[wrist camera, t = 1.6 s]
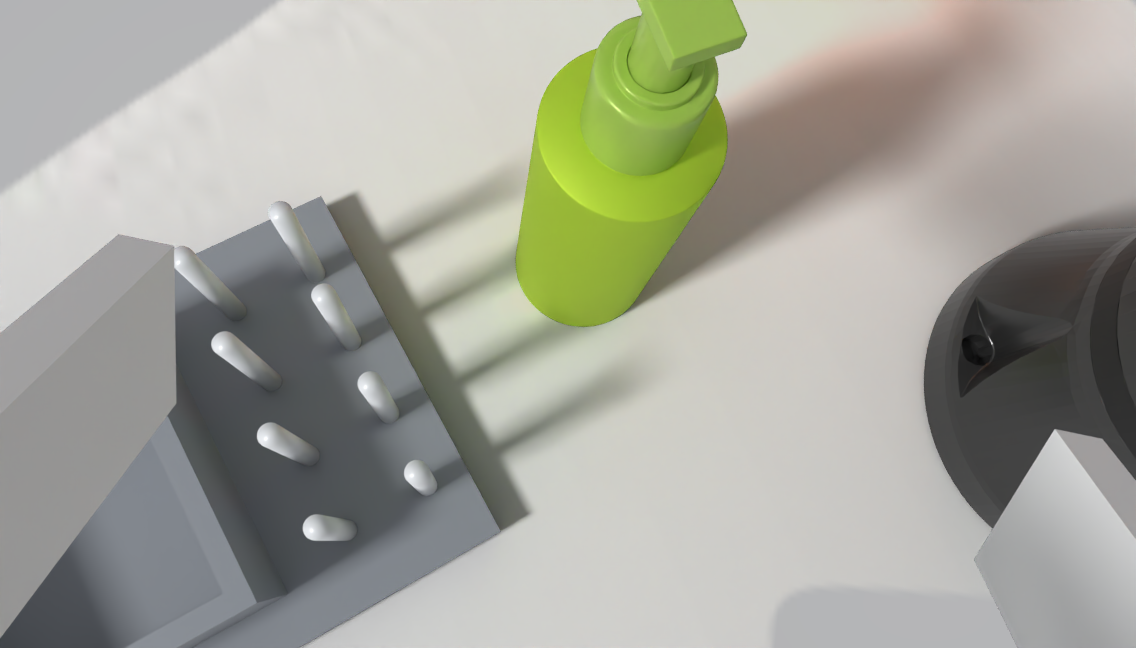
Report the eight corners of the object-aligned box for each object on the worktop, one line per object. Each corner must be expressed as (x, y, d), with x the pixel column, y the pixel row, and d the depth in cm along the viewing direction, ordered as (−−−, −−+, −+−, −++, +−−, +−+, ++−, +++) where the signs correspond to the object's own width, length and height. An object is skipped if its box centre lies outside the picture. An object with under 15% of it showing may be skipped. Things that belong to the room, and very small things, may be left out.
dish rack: (325, 206, 38) (287, 119, 30) (499, 531, 36) (508, 528, 28) (-157, 430, 34) (-346, 396, 26) (2, 818, 32) (-155, 910, 24)
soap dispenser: (605, 164, 40) (728, -181, 21) (666, 299, 39) (857, 62, 20) (486, 206, 39) (501, -118, 20) (546, 346, 38) (623, 144, 19)
